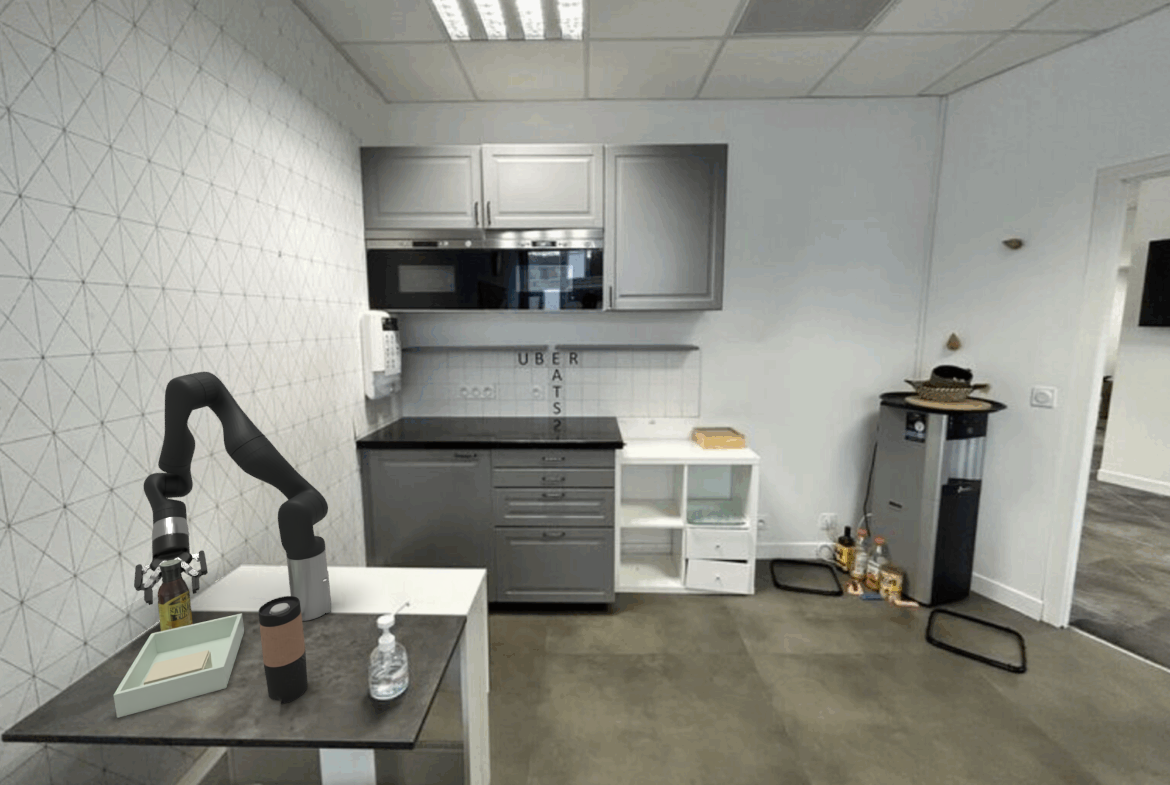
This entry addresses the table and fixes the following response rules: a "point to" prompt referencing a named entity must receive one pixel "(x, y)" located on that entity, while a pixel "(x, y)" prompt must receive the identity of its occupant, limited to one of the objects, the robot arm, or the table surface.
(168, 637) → the tote
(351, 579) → the table surface
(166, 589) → the sauce bottle
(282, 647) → the travel mug
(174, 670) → the beige lidded box
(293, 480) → the robot arm
